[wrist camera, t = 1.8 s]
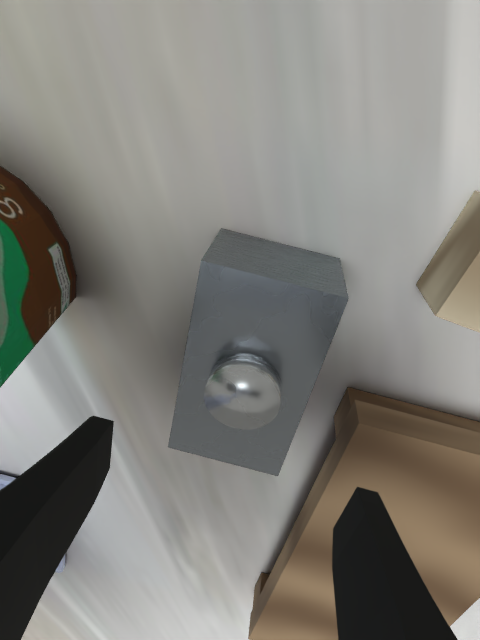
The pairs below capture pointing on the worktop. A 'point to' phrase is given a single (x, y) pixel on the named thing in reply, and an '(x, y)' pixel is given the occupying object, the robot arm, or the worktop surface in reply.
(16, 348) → the food container
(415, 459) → the stand
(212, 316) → the block
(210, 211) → the worktop surface
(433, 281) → the beech offcut
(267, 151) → the worktop surface
